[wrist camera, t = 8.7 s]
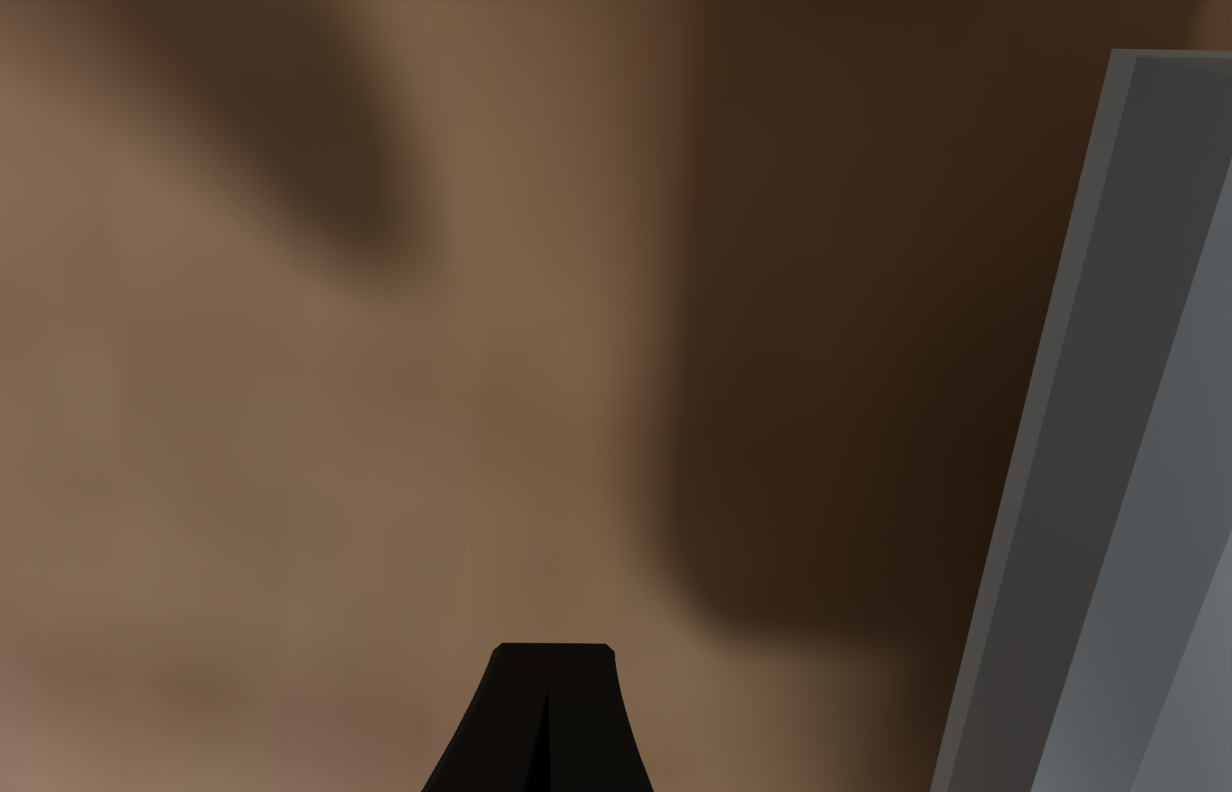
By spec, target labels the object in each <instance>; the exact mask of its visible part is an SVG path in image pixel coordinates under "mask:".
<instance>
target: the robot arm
mask: <svg viewBox="0 0 1232 792" xmlns="http://www.w3.org/2000/svg"><path fill="white" fill-rule="evenodd" d="M421 792H654V791H653V788H652V786H651V783H650V780H649V778H648V775H647V773H646V770H645V767H644V765H643V762H642V760H641V757H640V754H639V751H638V748H637V745H636V742H635V739H634V736H633V733H632V730H631V727H630V723H629V720H628V717H627V713H626V710H625V706H624V702H623V698H622V695H621V690H620V686H619V681H618V676H617V670H616V663H615V652H614V651H613V650H612V649H611V648H610V647H609V646H608V645H607V644H584V643H502V644H500V645H499V646H498V647H497V648H495V649H494V650H493V652H492V655H491V658H490V660H489V663H488V666H487V668H486V670H485V673H484V675H483V677H482V679H481V682H480V684H479V686H478V688H477V690H476V693H475V695H474V697H473V699H472V701H471V703H470V705H469V707H468V709H467V711H466V713H465V715H464V717H463V718H462V720H461V722H460V724H459V726H458V728H457V730H456V732H455V734H454V736H453V737H452V739H451V741H450V743H449V744H448V746H447V748H446V750H445V751H444V753H443V755H442V757H441V758H440V760H439V762H438V764H437V765H436V767H435V769H434V770H433V772H432V774H431V776H430V777H429V779H428V781H427V783H426V784H425V786H424V788H423V789H422V791H421Z"/></svg>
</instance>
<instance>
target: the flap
mask: <svg viewBox="0 0 1232 792" xmlns="http://www.w3.org/2000/svg"><path fill="white" fill-rule="evenodd" d="M930 792H1232V51H1217V50H1157V49H1112V51H1111V55H1110V59H1109V63H1108V67H1107V71H1106V75H1105V79H1104V83H1103V87H1102V92H1101V96H1100V100H1099V104H1098V108H1097V112H1096V116H1095V120H1094V124H1093V128H1092V132H1091V136H1090V140H1089V144H1088V149H1087V153H1086V157H1085V161H1084V165H1083V169H1082V173H1081V177H1080V181H1079V185H1078V189H1077V193H1076V197H1075V201H1074V206H1073V210H1072V214H1071V218H1070V222H1069V226H1068V230H1067V234H1066V238H1065V242H1064V246H1063V250H1062V254H1061V258H1060V263H1059V267H1058V271H1057V275H1056V279H1055V283H1054V287H1053V291H1052V295H1051V299H1050V303H1049V307H1048V311H1047V315H1046V320H1045V324H1044V328H1043V332H1042V336H1041V340H1040V344H1039V348H1038V352H1037V356H1036V360H1035V364H1034V368H1033V372H1032V377H1031V381H1030V385H1029V389H1028V393H1027V397H1026V401H1025V405H1024V409H1023V413H1022V417H1021V421H1020V425H1019V429H1018V434H1017V438H1016V442H1015V446H1014V450H1013V454H1012V458H1011V462H1010V466H1009V470H1008V474H1007V478H1006V482H1005V486H1004V491H1003V495H1002V499H1001V503H1000V507H999V511H998V515H997V519H996V523H995V527H994V531H993V535H992V539H991V543H990V548H989V552H988V556H987V560H986V564H985V568H984V572H983V576H982V580H981V584H980V588H979V592H978V596H977V600H976V605H975V609H974V613H973V617H972V621H971V625H970V629H969V633H968V637H967V641H966V645H965V649H964V653H963V657H962V662H961V666H960V670H959V674H958V678H957V682H956V686H955V690H954V694H953V698H952V702H951V706H950V710H949V714H948V719H947V723H946V727H945V731H944V735H943V739H942V743H941V747H940V751H939V755H938V759H937V763H936V767H935V771H934V776H933V780H932V784H931V788H930Z"/></svg>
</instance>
